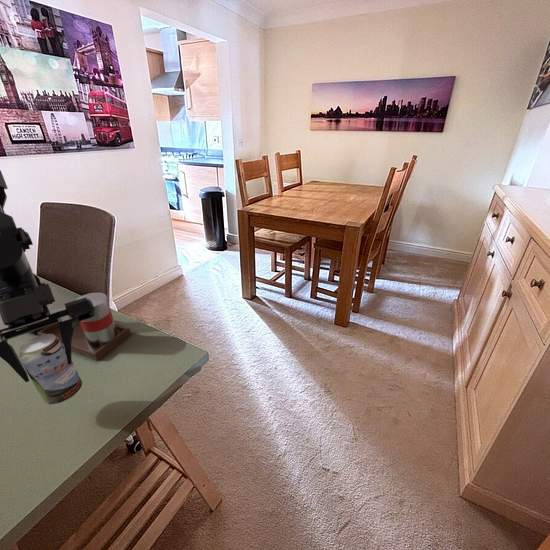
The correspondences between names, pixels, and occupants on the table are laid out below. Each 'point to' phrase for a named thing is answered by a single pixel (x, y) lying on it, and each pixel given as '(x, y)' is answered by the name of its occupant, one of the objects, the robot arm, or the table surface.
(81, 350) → the drinks tray
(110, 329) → the can
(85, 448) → the table surface
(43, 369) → the beverage can
